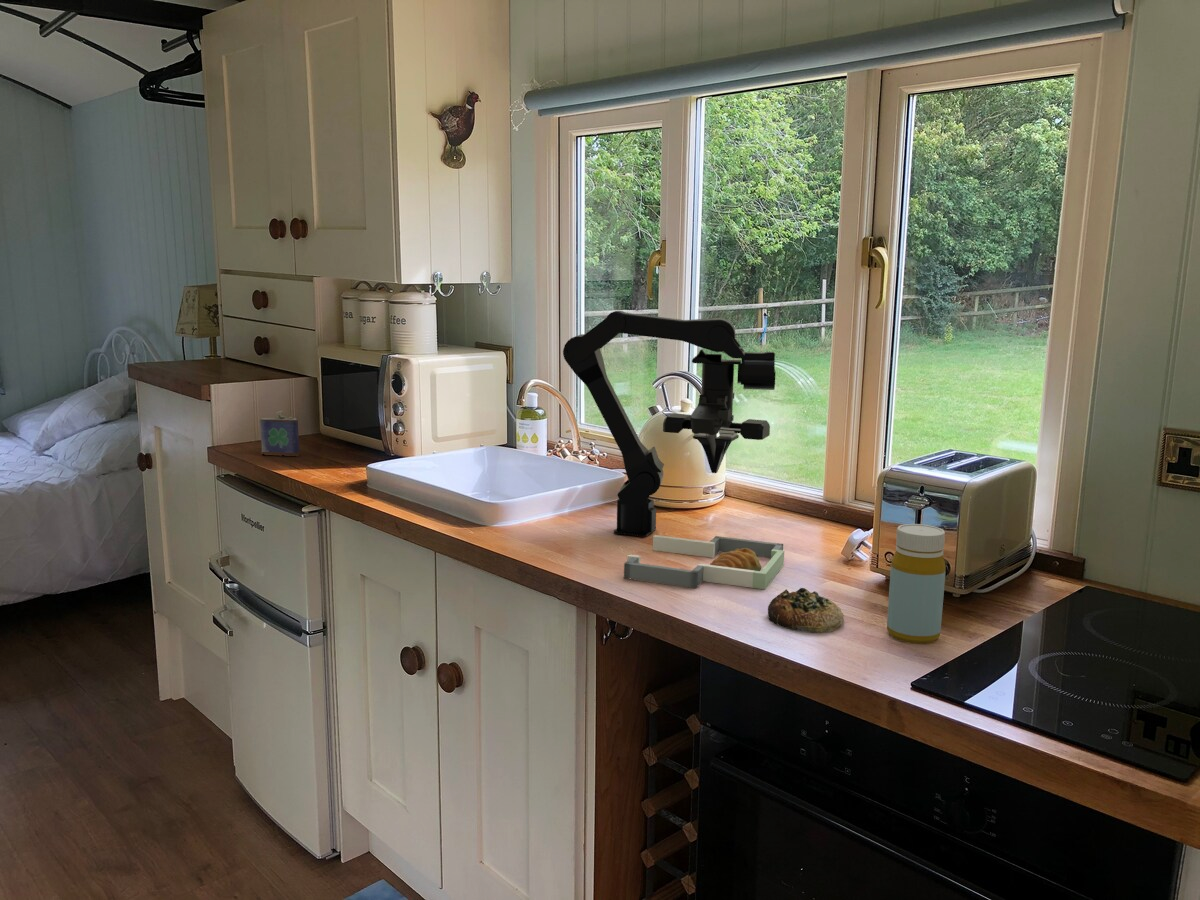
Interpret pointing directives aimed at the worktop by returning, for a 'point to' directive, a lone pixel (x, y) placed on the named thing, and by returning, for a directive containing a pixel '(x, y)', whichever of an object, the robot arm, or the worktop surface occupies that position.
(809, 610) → the bread roll
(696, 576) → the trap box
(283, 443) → the flask
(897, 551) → the bottle
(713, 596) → the worktop surface
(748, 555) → the pastry
